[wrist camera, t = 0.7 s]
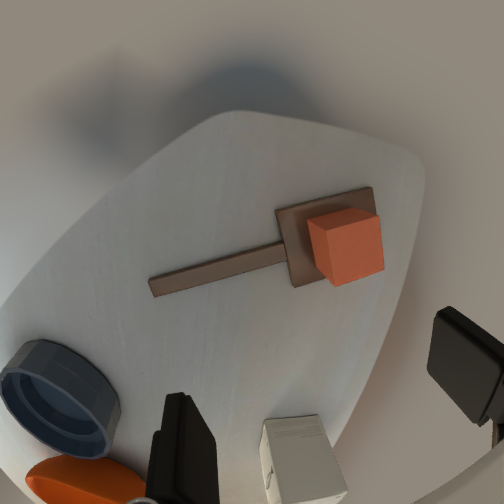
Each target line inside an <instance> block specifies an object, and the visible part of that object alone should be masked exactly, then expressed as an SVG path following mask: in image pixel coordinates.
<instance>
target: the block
mask: <svg viewBox="0 0 504 504" xmlns="http://www.w3.org/2000/svg"><path fill="white" fill-rule="evenodd" d="M307 223H308V228H309V232H310V237H311V242H312V247H313V253H314V258H315V263H316V268H317V269H318V270H319V271H320V272H321V273H322V274H323V275H324V276H325V277H326V278H327V279H328V280H329V281H330V282H331V283H332V284H333V285H334V286H335V287H336V286H339V285H342V284H345V283H348V282H351V281H354V280H357V279H360V278H363V277H366V276H368V275H371V274H374V273H377V272H379V271H382V270H384V259H383V248H382V238H381V229H380V221H379V216H378V215H375V214H372V213H369V212H366V211H363V210H360V209H357V208H354V207H352V208H348V209H344V210H341V211H337V212H333V213H329V214H326V215H322V216H318V217H314V218H311V219H307Z"/></svg>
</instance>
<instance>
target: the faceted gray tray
mask: <svg viewBox="0 0 504 504" xmlns="http://www.w3.org/2000/svg"><path fill="white" fill-rule="evenodd" d="M0 396H1V398H2V400H3V402H4V404H5V406H6V407H7V409H8V411H9V412H10V413H11V414H12V416H13V417H14V418H15V419H16V420H17V421H18V423H19V424H20V425H21V426H22V427H23V428H24V429H25V430H27V431H28V432H29V433H30V434H31V435H33V436H34V437H35V438H36V439H38V440H39V441H40V442H42V443H44V444H46V445H47V446H49V447H51V448H53V449H54V450H56V451H58V452H60V453H63V454H66V455H69V456H72V457H75V458H79V459H91V460H96V459H99V458H102V457H104V456H107V455H108V452H109V450H110V448H111V446H112V442H113V438H114V435H115V431H116V428H117V424H118V421H119V418H120V414H121V411H120V407H119V402H118V398H117V395H116V394H115V392H114V391H113V390H112V388H111V387H110V385H109V384H108V382H107V381H106V379H105V378H104V377H103V376H102V375H101V374H100V373H99V372H98V371H97V370H95V369H94V368H93V367H92V366H91V365H90V364H89V363H88V362H87V361H86V360H85V359H83V358H81V357H80V356H78V355H76V354H74V353H73V352H71V351H69V350H68V349H66V348H64V347H63V346H61V345H57V344H53V343H50V342H46V341H42V340H38V341H33V342H27V343H25V344H24V345H23V346H22V347H21V348H20V349H19V351H18V352H17V353H16V354H15V355H14V356H13V358H12V359H11V360H10V361H9V362H8V364H7V365H6V366H5V367H4V369H3V370H2V372H1V373H0Z"/></svg>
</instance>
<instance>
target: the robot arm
mask: <svg viewBox="0 0 504 504" xmlns="http://www.w3.org/2000/svg"><path fill="white" fill-rule="evenodd" d="M427 371H428V373H429V375H430V376H431V377H432V378H433V379H434V380H435V381H436V382H437V383H438V384H439V385H440V387H441V388H442V389H443V390H444V391H445V392H446V393H447V394H448V395H449V397H450V398H451V399H452V400H453V401H454V402H455V403H456V404H457V405H458V407H459V408H460V409H461V410H462V411H463V412H464V414H465V415H466V416H467V417H468V418H469V419H470V420H471V422H472V423H477V425H478V426H479V427H481V426H482V425H484V424H485V423H486V422H487V421H488V420H489V419H490V418H491V419H492V421H493V435H492V450H490V451H489V452H488V453H487V454H486V455H484V456H483V457H482V458H481V459H479V460H478V461H477V462H475V463H474V464H473V465H471V466H470V467H469V468H467V469H466V470H465V471H463V472H462V473H460V474H459V475H458V476H456V477H455V478H453V479H452V480H450V481H449V482H447V483H446V484H444V485H443V486H441V487H439V488H438V489H436V490H434V491H433V492H431V493H429V494H428V495H426V496H424V497H423V498H421V499H419V500H417V501H415V502H413V503H411V504H504V344H502V343H501V342H500V341H498V340H497V339H496V338H495V337H493V336H492V335H490V334H489V333H488V332H486V331H485V330H484V329H482V328H481V327H480V326H478V325H477V324H476V323H474V322H473V321H471V320H470V319H469V318H467V317H466V316H464V315H463V314H461V313H460V312H459V311H457V310H456V309H454V308H453V307H451V306H447V307H446V308H444V309H441V310H440V311H438V312H437V313H436V316H435V318H434V323H433V331H432V338H431V345H430V352H429V357H428V363H427ZM126 504H220V499H219V485H218V468H217V449H216V441H215V438H214V436H213V435H212V433H211V431H210V430H209V428H208V426H207V424H206V423H205V421H204V419H203V418H202V416H201V414H200V412H199V410H198V409H197V407H196V405H195V403H194V401H193V400H192V398H191V396H190V395H185V394H184V393H183V392H180V393H173V394H167V395H166V399H165V405H164V412H163V418H162V425H161V430H158V431H156V432H155V433H154V435H153V440H152V446H151V453H150V459H149V466H148V474H147V481H146V489H145V497H139V498H134V499H132V500H130V501H128V502H127V503H126Z"/></svg>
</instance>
